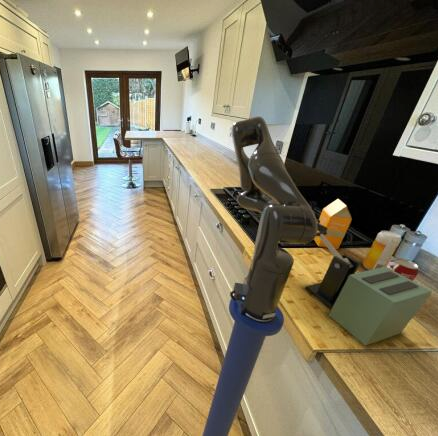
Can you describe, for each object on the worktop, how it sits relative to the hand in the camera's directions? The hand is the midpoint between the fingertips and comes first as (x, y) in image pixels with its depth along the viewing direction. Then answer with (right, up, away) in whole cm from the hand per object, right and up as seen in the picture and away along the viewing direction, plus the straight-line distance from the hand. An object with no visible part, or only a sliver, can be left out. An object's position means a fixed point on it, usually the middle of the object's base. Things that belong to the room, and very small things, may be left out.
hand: (316, 232), depth 77 cm
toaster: (+6, -25, -10) cm, 28 cm away
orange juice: (+25, -7, +29) cm, 39 cm away
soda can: (+25, -20, +2) cm, 32 cm away
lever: (+2, -6, -3) cm, 7 cm away
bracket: (+3, -21, -2) cm, 21 cm away
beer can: (+31, -15, +13) cm, 37 cm away
